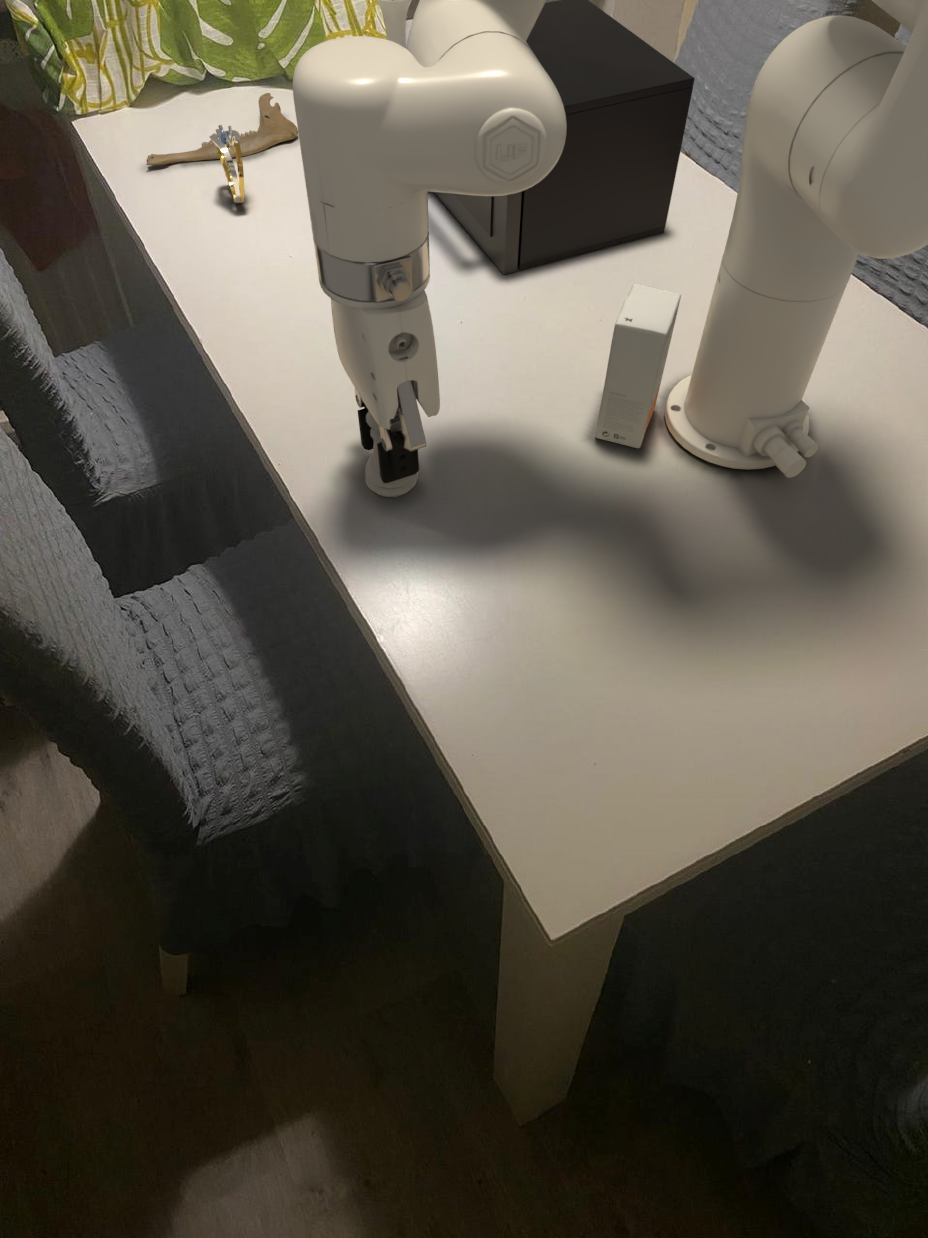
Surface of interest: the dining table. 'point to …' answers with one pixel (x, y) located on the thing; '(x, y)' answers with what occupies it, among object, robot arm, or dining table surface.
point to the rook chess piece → (373, 468)
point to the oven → (603, 136)
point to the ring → (230, 160)
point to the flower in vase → (395, 19)
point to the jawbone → (241, 137)
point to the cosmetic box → (636, 364)
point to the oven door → (490, 224)
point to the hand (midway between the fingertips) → (390, 458)
